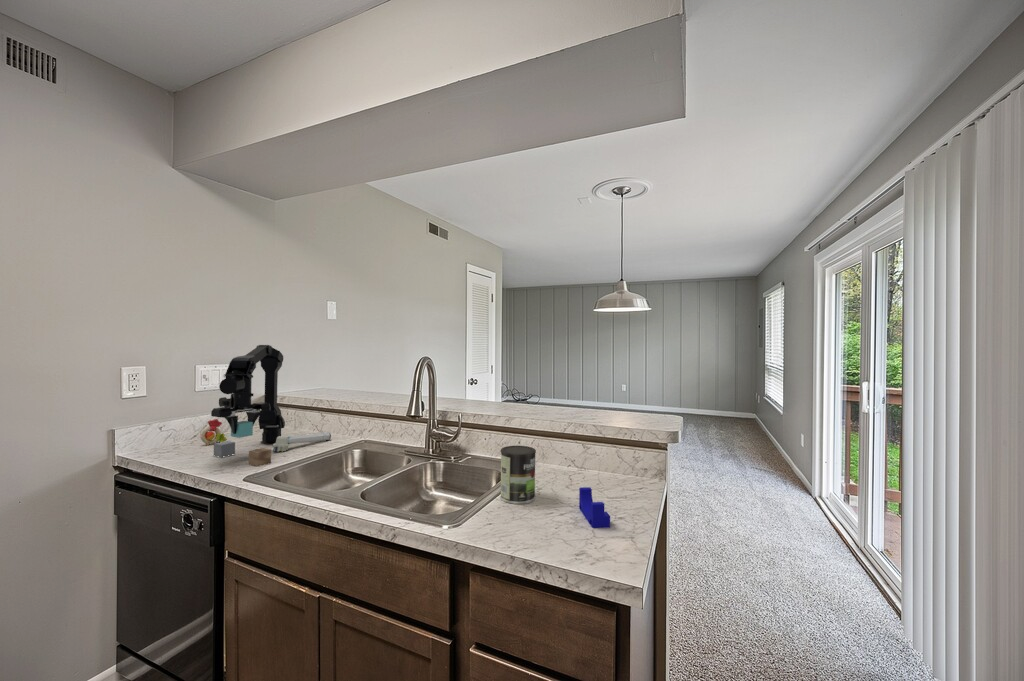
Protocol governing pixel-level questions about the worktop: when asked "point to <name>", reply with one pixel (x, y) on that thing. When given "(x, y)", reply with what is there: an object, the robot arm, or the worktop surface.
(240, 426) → the teal block
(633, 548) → the worktop surface
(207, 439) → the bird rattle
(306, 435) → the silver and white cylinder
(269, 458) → the walnut block
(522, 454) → the coffee can
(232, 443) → the charcoal block
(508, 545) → the worktop surface
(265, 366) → the robot arm
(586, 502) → the blue stepped block
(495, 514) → the worktop surface
